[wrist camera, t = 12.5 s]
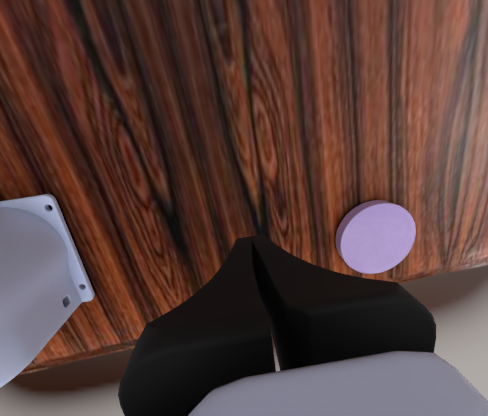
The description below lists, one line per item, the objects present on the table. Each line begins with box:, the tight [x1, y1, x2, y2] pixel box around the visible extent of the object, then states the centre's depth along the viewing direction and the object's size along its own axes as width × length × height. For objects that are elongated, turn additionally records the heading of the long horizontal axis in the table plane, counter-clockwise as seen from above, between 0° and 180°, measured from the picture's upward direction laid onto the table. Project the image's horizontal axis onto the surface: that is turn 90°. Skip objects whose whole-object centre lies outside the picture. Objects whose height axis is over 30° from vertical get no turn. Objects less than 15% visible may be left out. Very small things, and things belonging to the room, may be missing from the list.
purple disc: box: [336, 200, 416, 274], centre depth 20 cm, size 6×6×1 cm
